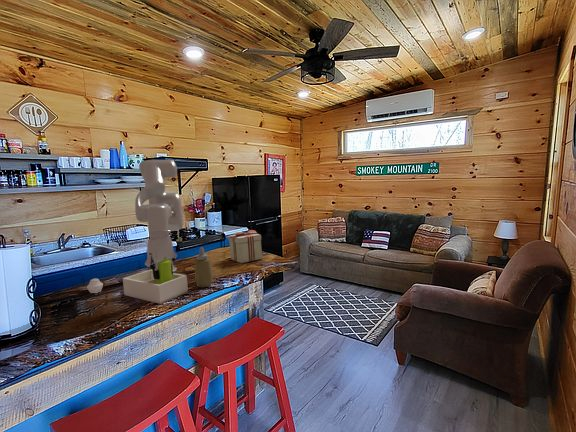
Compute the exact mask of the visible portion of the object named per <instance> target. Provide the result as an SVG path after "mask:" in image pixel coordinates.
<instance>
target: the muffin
mask: <svg viewBox="0 0 576 432" xmlns="http://www.w3.org/2000/svg"><path fill="white" fill-rule="evenodd" d="M103 287H104V284H103V282H101V281H100V279H99V278H92V279H90V280H89V283H88V284H87V286H86V288H87V290H88V291H89V293H90V294H91V293H98V292H100V293H101V292H102V290H103Z"/></svg>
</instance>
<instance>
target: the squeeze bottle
mask: <svg viewBox="0 0 576 432" xmlns="http://www.w3.org/2000/svg"><path fill="white" fill-rule="evenodd" d="M208 257H209V256H208V254H207V253H205V250H204V247H202V246H201V247H199V254H197V255H196V260H195V261H194V263H195V264H194V280H195V283H196V284H197V287H199V288H206V287H210V286H211V285H212V284H213V283H212V282H213V279H214V273H213V270H212V264H211V260H210V258H208Z"/></svg>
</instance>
